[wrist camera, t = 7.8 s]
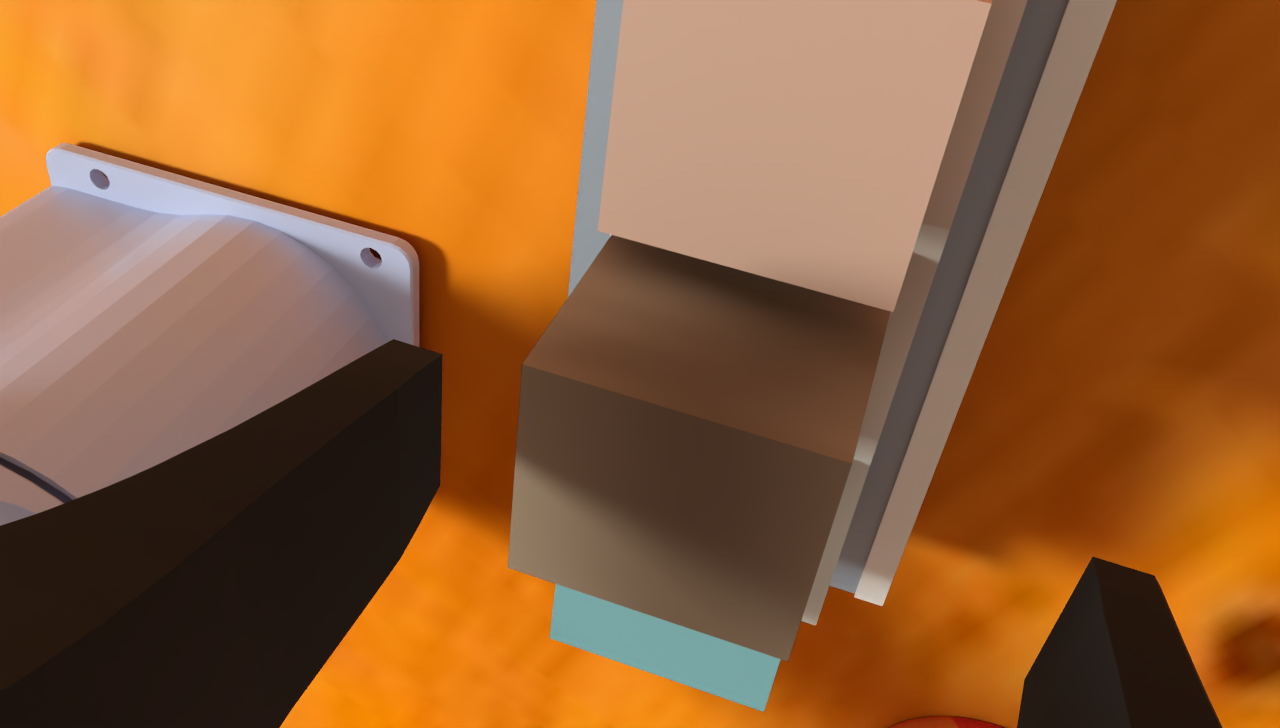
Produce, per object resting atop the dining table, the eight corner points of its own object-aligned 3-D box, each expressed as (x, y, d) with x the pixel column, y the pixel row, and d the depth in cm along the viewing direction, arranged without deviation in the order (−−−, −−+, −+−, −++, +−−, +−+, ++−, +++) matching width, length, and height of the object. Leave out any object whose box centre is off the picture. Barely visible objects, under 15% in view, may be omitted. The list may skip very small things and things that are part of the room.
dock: (587, 427, 27) (547, 498, 25) (674, -293, 17) (621, -273, 15) (898, 522, 25) (882, 606, 23) (1168, -201, 16) (1180, -165, 14)
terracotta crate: (653, 152, 17) (597, 230, 15) (692, -127, 14) (631, -77, 12) (916, 221, 16) (893, 312, 14) (1004, -60, 14) (991, 3, 12)
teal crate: (596, 542, 22) (550, 637, 20) (618, 387, 20) (567, 478, 18) (792, 607, 21) (763, 711, 19) (840, 454, 19) (813, 556, 17)
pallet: (605, 482, 24) (466, 752, 18) (699, -189, 16) (501, -55, 10) (833, 554, 23) (757, 859, 18) (1056, -117, 15) (1042, 72, 10)
